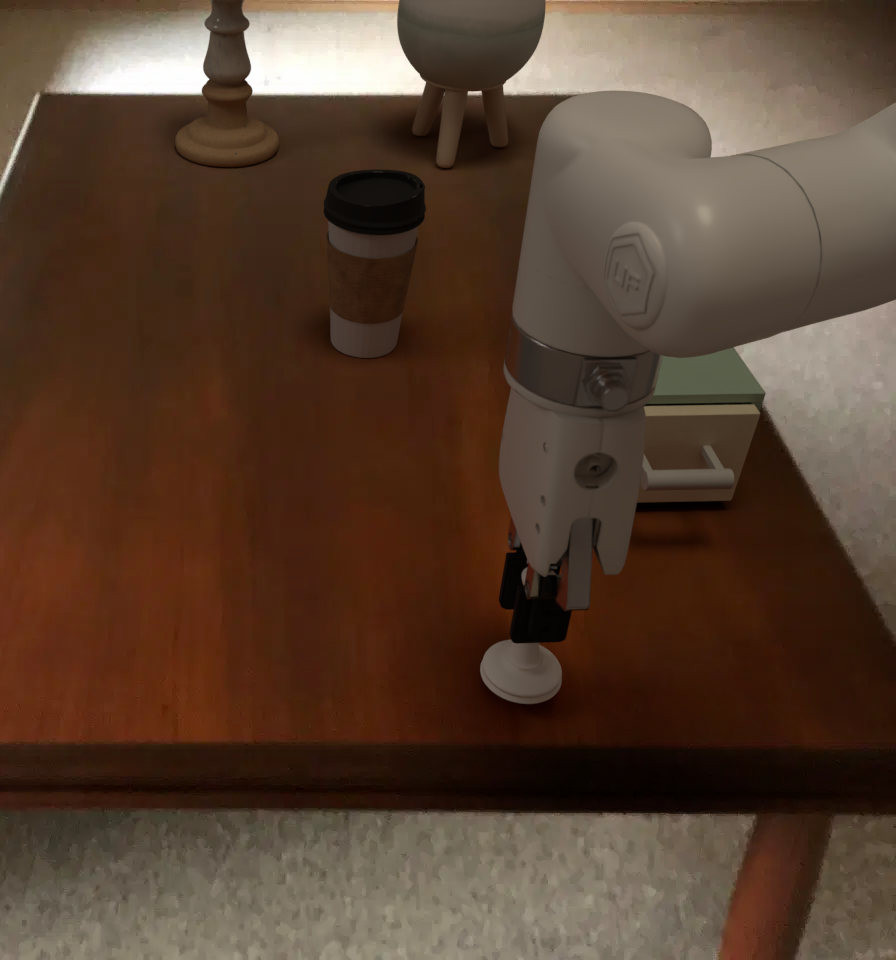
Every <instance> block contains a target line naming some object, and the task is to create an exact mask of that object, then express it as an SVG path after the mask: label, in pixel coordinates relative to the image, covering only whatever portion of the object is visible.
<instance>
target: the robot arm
mask: <svg viewBox="0 0 896 960" xmlns="http://www.w3.org/2000/svg"><path fill="white" fill-rule="evenodd" d="M536 141H537V142H536V146H535V154H534V160H533V165H532V167H533V168H532V172H531V173H532V174H531V180H530V187H529V194H528V199H527V206H526V212H525V213H526V214H525V221H524V227H523V234H522V240H521V247H520V254H519V259H518V267H517V274H516V281H515V287H514V294H513V300H512V308H511V309H512V311H511V312H510V313H511V314H510V321H509V326H508V327H509V328H508V334H507V342H506V346H505V353H504V354H505V355H504V362H503V377H504V378H505V381H506V383H507V384H508V386H509V387H510V391H509V396H508V401H507V405H506V409H505V415H504V421H503V427H502V432H501V439H500V447H499V457H498V476H499V481H500V485H501V489H502V493H503V495H504V499H505V502H506V505H507V508H508V510H509V513H510V521H509V528H508V533H507V543H508V544H507V545H508V549H509V550H510V551H511V552H506V553H505V559H504V564H503V571H502V576H501V582H500V588H499V594H498V602H499V605H500V608H502V609H504V610H508V611H510V610H511V611H512V616H511V622H510V628H509V637H510V639H511V640H512V642H513V643H517V644H518V643H539V644H544V643H545V644H546V643H547V644H548V643H549V644H550V643H561V642H564V641H565V640H566V638H567V635H568V631H569V627H570V622H571V618H572V617H571V616H572V613H573V612H575V611H589V609H590V606H591V605H590V604H591V591H592V590H591V588H592V567H593V553H594V554H595V557H596V559H597V561H598V563H599V566H600V568H601V570H602V572H603V574H604V576H609V575H611V576H617V575H619V574H620V573H621V572H622V570H623V569H624V567H625V565H626V560H627V556H628V552H629V548H630V547H629V546H630V542H631V536H632V532H633V526H634V521H635V515H636V510H637V505H638V503H637V500H638V493H639V487H640V481H641V473H642V465H643V456H644V443H645V421H646V414H645V410H644V405H645V404H647V403H648V402H649V401H650V399H651V398H652V397H653V394H654V392H655V388H656V384H657V380H658V376H659V372H660V367H661V363H662V359H663V356H667V357H675V358H688V357H697V356H703V355H708V354H712V353H715V352H718V351H722V350H726V349H729V348H733V347H734V348H737V347H740V346H744V345H747V344H751V343H755V342H759V341H762V340H765V339H769V338H772V337H774V336H776V335H779V334H781V333H785V332H790V331H793V330H797V329H800V328H805V327H807V326H810V325H814V324H819V323H821V322H826V321H829V320H834V319H837V318H841V317H845V316H849V315H854V314H857V313H860V312H863V311H867V310H871V309H873V308H876V307H879V306H880V307H881V306H882V305H885V304H888V303H891V302H894V301H896V101H895V102H893V103H892V104H890V105H889V106H887V107H884V108H883V109H882V110H880V111H878V112H877V113H875V114H873V115H872V116H870V117H869V118H867V119H865V120H863V121H861V122H859V123H857V124H855V125H853V126H850V127H848V128H847V129H844V130H842V131H839V132H837V133H834V134H831V135H827V136H822V137H816V138H810V139H804V140H798V141H794V142H790V143H784V144H779V145H775V146H770V147H765V148H761V149H756V150H751V151H746V152H745V151H744V152H741V153H736V154H732V155H724V156H713V157H712V150H713V141H712V136H711V132H710V128H709V126H708V124H707V122H706V121H705V119H704V118H703V117H702V116H701V115H700V114H699V113H698V112H697V111H695V109H693V108H692V107H690V106H688V105H686V104H684V103H682V102H680V101H677V100H673V99H671V98H668V97H665V96H661V95H657V94H654V93H647V92H641V91H635V90H632V91H631V90H598V91H590V92H585V93H579V94H577V95H573V96H571V97H568V98H566V99H564V100H563V101H561V102H560V103H558V104H556V106H554V107H553V108H552V109H551V110H550V112H548V114H547V116H546V117H545V118H544V121H543V123H542V124H541V127H540V129H539V132H538V137H537V140H536ZM514 551H515V552H514ZM527 559H528V563H527ZM552 566H557V569H553V568H551V567H552ZM525 568H527V573H526V578H525V585H523V583H522V572H523V570H524V569H525ZM552 571H554V573H555V574H556V575H548V573H551V572H552Z"/></svg>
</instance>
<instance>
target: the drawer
mask: <svg viewBox="0 0 896 960" xmlns="http://www.w3.org/2000/svg"><path fill="white" fill-rule="evenodd" d="M644 410H645V414H646V421H645V443H644V456H643V465H642V473H641V481H640V487H639V493H638V500H637V504H638V503H640V504H641V503H682V502H683V503H684V502H690V503H691V502H730V501H732V500H733V497H734V494H735V492H736V489H737V485H738V482H739V479H740V476H741V473H742V470H743V467H744V465H745V461H746V459H747V456H748V453H749V449H750V446H751V442H752V441H753V437H754V434H755V431H756V429H757V426H758V423H759V420H760V417H761V411H760V412H759V411H758V409H757V408H756V406H755V405H754V404H744V405H734V403H677V404H645V405H644Z"/></svg>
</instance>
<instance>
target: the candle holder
mask: <svg viewBox="0 0 896 960" xmlns="http://www.w3.org/2000/svg"><path fill="white" fill-rule="evenodd" d="M209 1H210V5H211V11H210V14H209V16H207V18H205V20H204V27H205V28H206V29H207V30H208V31H209V39H208V45H207V49H206V54H205V56H204V61H203V63H202V69H203V70H202V71H203V74H204V76H206V78H207V79H208V80H207V81H206V82H205V84H203V86H202V87H201V95H202V96H203V97H204V98H205V100H206V101H207V110H206V114H205V115H202V116H199V117H197V118H196V119H194V120H193V121H191V122H190V123H188V124H186V125H184V126H182V127H181V128H180V129H179V130H178V132H177V133H176V135H175V139H174V145H175V148H176V151H177V152H178V153H179V155H180V156H181V157H183V158H184V159H186V160H188V161H191V162H192V163H196V164H200V165H204V166H209V167H216V168H240V167H247V166H252V165H256V164H259V163H263V162H265V161H267V160H269V159H271V158H272V157H274V156H275V155H276V153H277V152H278V150H279V147H280V138H279V135H278V133H277V132H276V131H275V130H274V129H273V128H272V127H271V126H269V125H268V124H266V123H263V121H261V120H260V119H259V118H256V117H254V116H251V115H248V108H247V101H249V99H250V98H251V97H252V95H253V87H252V86H251V84H249V82H248V81H247V80H246V79H247V78H248V77H249V76H250V74H251V71H252V63H251V59H250V56H249V53H248V49H247V45H246V39H245V31H247V30H248V29H249V27H250V21H249V19H248V18H247V17H246V16H245V15H244V12H243V5H244V3H245V0H209Z"/></svg>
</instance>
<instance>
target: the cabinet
mask: <svg viewBox="0 0 896 960" xmlns="http://www.w3.org/2000/svg"><path fill="white" fill-rule="evenodd" d="M766 395H767V394H766V391H765V390H764V388H763V387H762V386H761V384H760V382H759V381H758V380H757V378H756V377H755V376H754V374H753V372H752V371H751V370H750V368H749V367H748V365H747V364H746V362H744V360H743V358H742V357H741V356H740V354H739V352H738V351H737V350H736V347H733V348H729V349H726V350H722V351H718V352H715V353H712V354H708V355H703V356H697V357H688V358H675V357H667V356H663V359H662V363H661V367H660V372H659V376H658V380H657V384H656V388H655V392H654V394H653V397H652V398H651V399H650V401H649V402H648V403H647V404H677V403H734V405H744V404H754V405H755V406H756V408H757V409H758V411H759V412H760V413H761V409H762V405H763V403H764V400H765V397H766Z"/></svg>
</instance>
